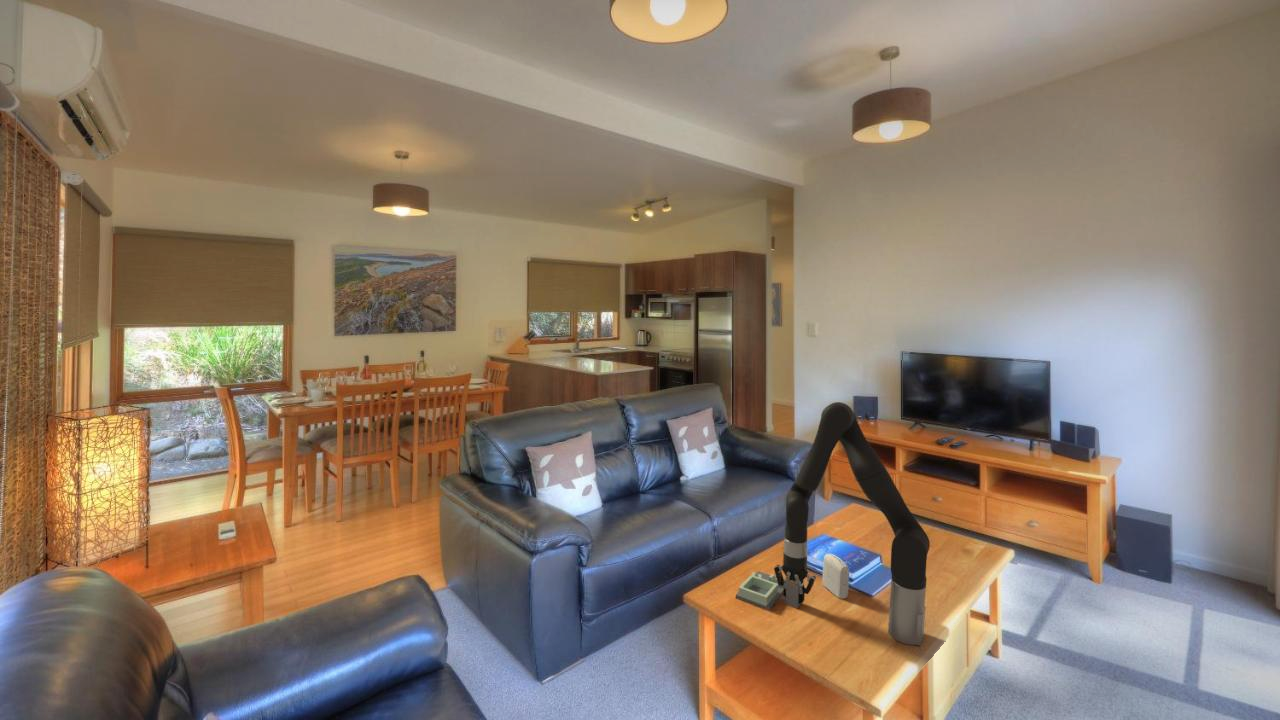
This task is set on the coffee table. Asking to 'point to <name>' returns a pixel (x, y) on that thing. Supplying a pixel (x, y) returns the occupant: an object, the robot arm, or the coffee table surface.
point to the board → (763, 591)
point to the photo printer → (835, 576)
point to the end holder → (757, 596)
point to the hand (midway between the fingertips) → (793, 600)
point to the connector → (792, 594)
